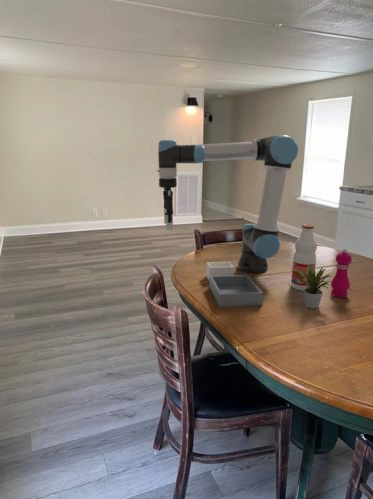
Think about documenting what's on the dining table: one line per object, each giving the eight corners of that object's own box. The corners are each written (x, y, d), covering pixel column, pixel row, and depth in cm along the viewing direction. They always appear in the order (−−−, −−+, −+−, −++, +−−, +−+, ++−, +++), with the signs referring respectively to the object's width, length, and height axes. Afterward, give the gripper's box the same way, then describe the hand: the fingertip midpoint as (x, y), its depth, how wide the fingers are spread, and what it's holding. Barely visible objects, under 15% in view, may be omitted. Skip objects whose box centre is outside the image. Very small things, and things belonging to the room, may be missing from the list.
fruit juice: (315, 291, 161) (323, 227, 153) (294, 291, 161) (299, 227, 153) (309, 283, 170) (315, 223, 162) (288, 283, 170) (293, 222, 162)
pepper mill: (340, 299, 152) (346, 252, 147) (326, 293, 159) (331, 247, 153) (352, 296, 156) (358, 250, 150) (338, 290, 162) (343, 246, 157)
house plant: (326, 318, 135) (331, 275, 131) (288, 309, 142) (292, 268, 138) (334, 305, 147) (339, 265, 143) (299, 297, 154) (303, 259, 150)
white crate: (229, 275, 179) (229, 261, 177) (233, 281, 171) (233, 267, 169) (206, 276, 178) (206, 262, 176) (209, 282, 170) (210, 267, 168)
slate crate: (247, 286, 165) (247, 274, 164) (262, 306, 145) (263, 292, 144) (209, 288, 163) (209, 276, 162) (219, 308, 143) (219, 294, 142)
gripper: (157, 175, 171) (158, 221, 177) (160, 180, 147) (161, 233, 153) (173, 175, 172) (174, 220, 178) (179, 180, 148) (179, 232, 154)
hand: (168, 226), depth 165 cm, fingers open, 13 cm apart
